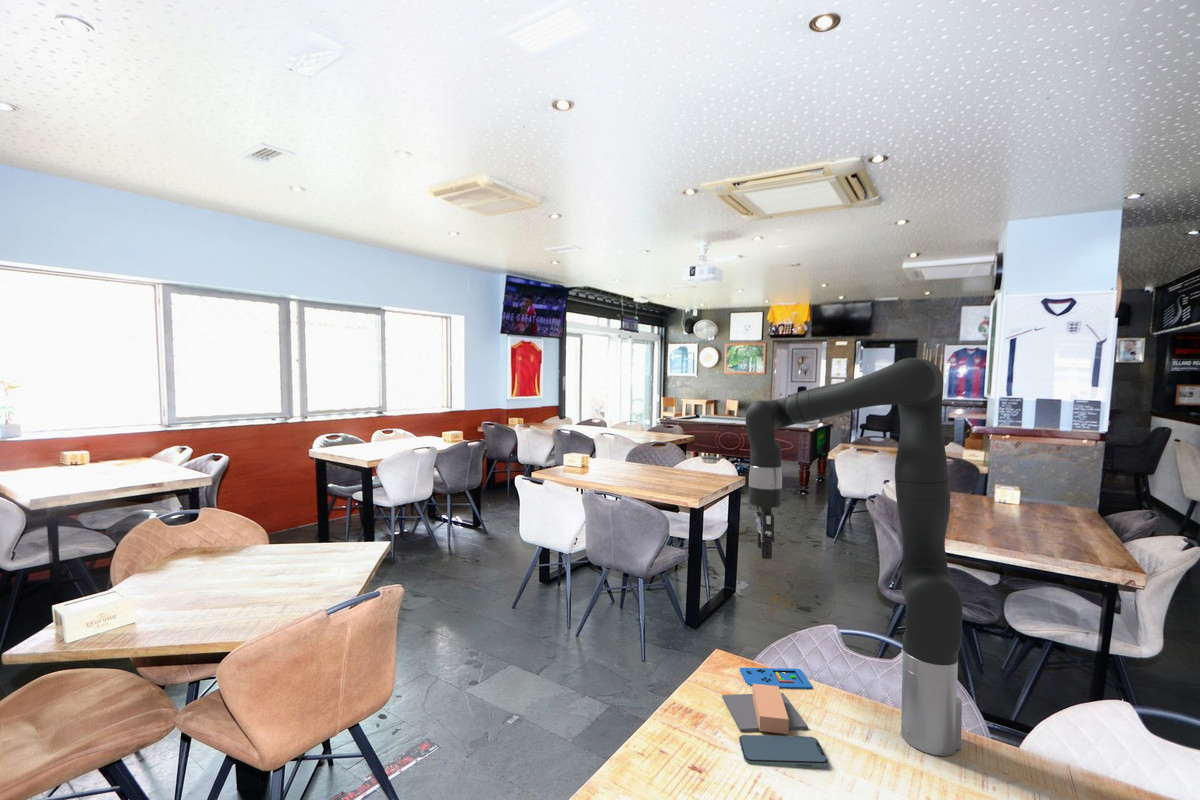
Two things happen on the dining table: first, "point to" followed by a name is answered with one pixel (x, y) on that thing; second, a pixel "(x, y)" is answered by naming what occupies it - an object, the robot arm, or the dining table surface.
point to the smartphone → (783, 751)
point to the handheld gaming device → (776, 677)
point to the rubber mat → (746, 714)
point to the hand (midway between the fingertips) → (764, 553)
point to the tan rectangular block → (770, 709)
